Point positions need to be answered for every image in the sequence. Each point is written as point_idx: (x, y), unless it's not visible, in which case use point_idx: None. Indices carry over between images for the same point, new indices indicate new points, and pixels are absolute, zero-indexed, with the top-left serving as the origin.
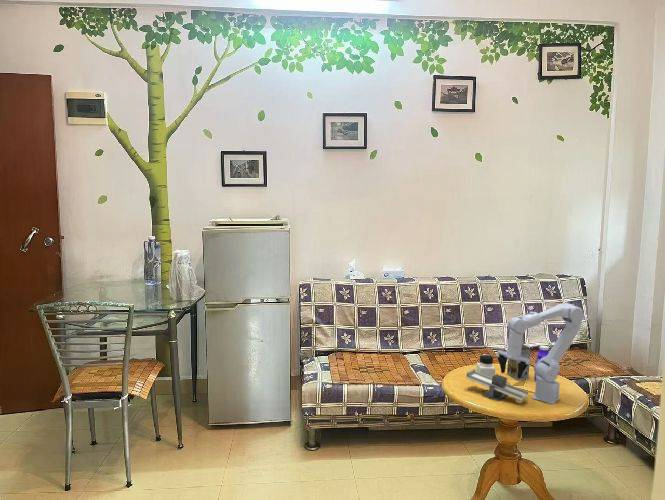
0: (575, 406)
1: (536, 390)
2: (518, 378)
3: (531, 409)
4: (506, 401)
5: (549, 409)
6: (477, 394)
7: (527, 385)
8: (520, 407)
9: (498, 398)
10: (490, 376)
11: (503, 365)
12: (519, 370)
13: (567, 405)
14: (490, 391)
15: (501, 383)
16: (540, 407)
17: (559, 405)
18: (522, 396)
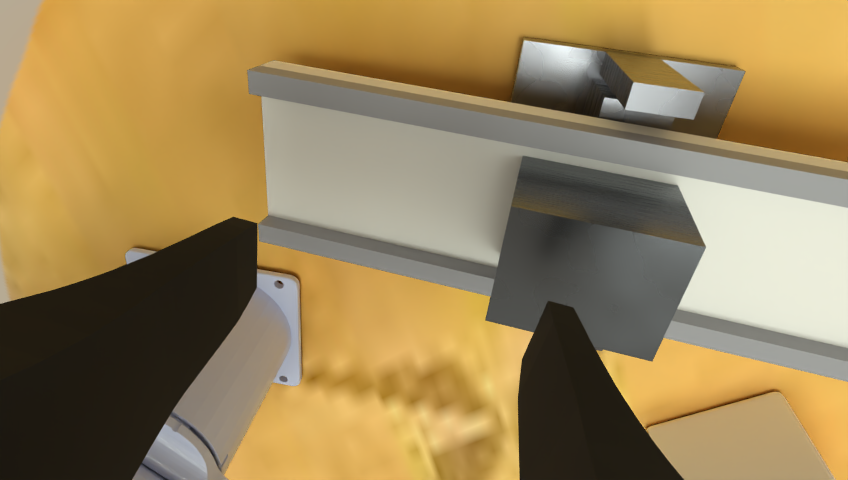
0: (25, 294)
1: (242, 334)
2: (236, 219)
3: (193, 31)
4: (455, 82)
5: (95, 136)
6: (798, 83)
7: (407, 464)
8: (289, 11)
9: (540, 63)
10: (697, 461)
11: (556, 442)
12: (103, 294)
13: (64, 284)
14: (658, 70)
15: (537, 186)
16: (164, 133)
17: (96, 256)
18: (249, 82)
